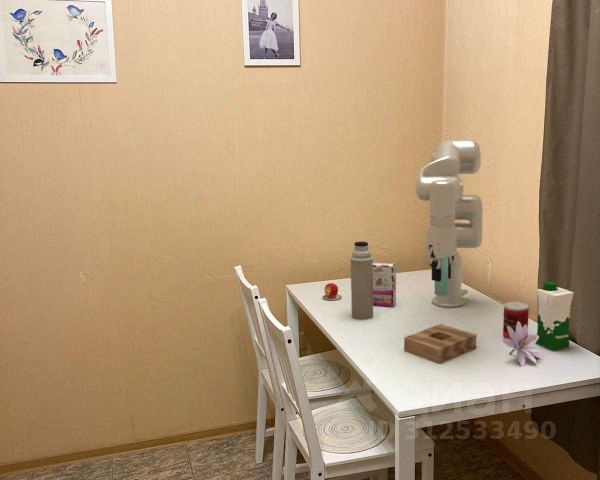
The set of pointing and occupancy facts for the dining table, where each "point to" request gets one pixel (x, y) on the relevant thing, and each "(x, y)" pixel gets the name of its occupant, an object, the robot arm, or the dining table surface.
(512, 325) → the canned food
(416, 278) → the dining table surface
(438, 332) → the socket block
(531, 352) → the water lily
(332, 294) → the apple
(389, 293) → the candy bar box
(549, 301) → the milk carton
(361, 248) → the thermos bottle
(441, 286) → the peg
